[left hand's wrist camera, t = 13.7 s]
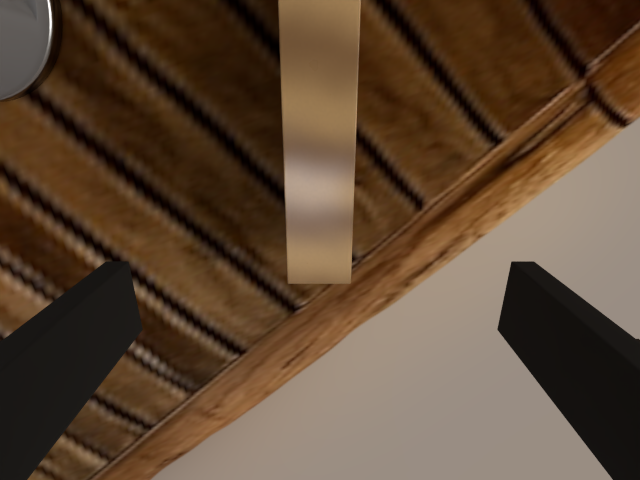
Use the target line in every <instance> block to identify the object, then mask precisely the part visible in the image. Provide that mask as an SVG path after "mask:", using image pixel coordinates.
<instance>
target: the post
mask: <svg viewBox="0 0 640 480" xmlns="http://www.w3.org/2000/svg"><path fill="white" fill-rule="evenodd" d="M360 7H361V0H278V15H279V44H280V73H281V102H282V131H283V160H284V189H285V218H286V247H287V276H288V284H350V283H351V262H352V234H353V206H354V177H355V149H356V121H357V92H358V64H359V35H360Z"/></svg>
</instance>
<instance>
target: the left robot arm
mask: <svg viewBox="0 0 640 480" xmlns="http://www.w3.org/2000/svg"><path fill="white" fill-rule="evenodd" d="M61 40H62V13H61V5H60V1H59V0H0V102H3V101H9V100H14V99H17V98H20V97H23V96H24V95H26V94H28V93H30V92H32V91H33V90H35V89H36V88H37V87H38V86H39V85H40V84H42V83H43V81H44V80H45V79H46V78H47V77H48V75H49V74H50V72H51V71H52V69H53V67H54V65H55V63H56V60H57V57H58V54H59V50H60V46H61ZM141 331H142V325H141V320H140V315H139V310H138V305H137V301H136V296H135V291H134V286H133V281H132V276H131V272H130V267H129V262H105V263H104V264H102V265H101V266H100V267H98V268H97V269H96V270H94V271H93V272H92V273H90V274H89V275H88V276H87V277H85V278H84V279H83V280H81V281H80V282H79V283H77V284H76V285H75V286H73V287H72V288H71V289H69V290H68V291H67V292H65V293H64V294H63V295H62V296H60V297H59V298H58V299H56V300H55V301H54V302H52V303H51V304H50V305H48V306H47V307H46V308H44V309H43V310H42V311H40V312H39V313H38V314H37V315H35V316H34V317H33V318H31V319H30V320H29V321H27V322H26V323H25V324H23V325H22V326H21V327H19V328H18V329H17V330H15V331H14V332H13V333H12V334H10V335H9V336H8V337H6V338H5V339H4V340H2V341H0V480H27V479H28V478H29V476H30V475H31V474H32V473H33V471H34V470H35V469H36V467H37V466H38V465H39V463H40V462H41V461H42V460H43V458H44V457H45V456H46V454H47V453H48V452H49V450H50V449H51V448H52V447H53V445H54V444H55V443H56V441H57V440H58V439H59V437H60V436H61V435H62V434H63V432H64V431H65V430H66V428H67V427H68V426H69V424H70V423H71V422H72V421H73V419H74V418H75V417H76V415H77V414H78V413H79V411H80V410H81V409H82V408H83V406H84V405H85V404H86V402H87V401H88V400H89V398H90V397H91V396H92V395H93V393H94V392H95V391H96V389H97V388H98V387H99V385H100V384H101V383H102V382H103V380H104V379H105V378H106V376H107V375H108V374H109V372H110V371H111V370H112V369H113V367H114V366H115V365H116V363H117V362H118V361H119V360H120V358H121V357H122V356H123V354H124V353H125V352H126V350H127V349H128V348H129V347H130V345H131V344H132V343H133V341H134V340H135V339H136V337H137V336H138V335H139V334H140V332H141ZM498 331H499V332H500V334H501V335H502V336H503V337H504V339H505V340H506V341H507V343H508V344H509V345H510V347H511V348H512V349H513V350H514V352H515V353H516V354H517V355H518V357H519V358H520V359H521V361H522V362H523V363H524V365H525V366H526V367H527V368H528V370H529V371H530V372H531V374H532V375H533V376H534V378H535V379H536V380H537V382H538V383H539V384H540V385H541V387H542V388H543V389H544V391H545V392H546V393H547V395H548V396H549V397H550V398H551V400H552V401H553V402H554V404H555V405H556V406H557V408H558V409H559V410H560V411H561V413H562V414H563V415H564V417H565V418H566V419H567V421H568V422H569V423H570V424H571V426H572V427H573V428H574V430H575V431H576V432H577V434H578V435H579V436H580V437H581V439H582V440H583V441H584V443H585V444H586V445H587V447H588V448H589V449H590V450H591V452H592V453H593V454H594V455H595V457H596V458H597V459H598V461H599V462H600V463H601V465H602V466H603V467H604V469H605V470H606V471H607V472H608V474H609V475H610V476H611V478H612V479H613V480H640V340H639V339H635V338H634V337H632V336H631V335H630V334H628V333H627V332H626V331H624V330H623V329H622V328H621V327H619V326H618V325H617V324H615V323H614V322H613V321H611V320H610V319H609V318H607V317H606V316H605V315H603V314H602V313H601V312H599V311H598V310H597V309H596V308H594V307H593V306H592V305H590V304H589V303H588V302H586V301H585V300H584V299H582V298H581V297H580V296H578V295H577V294H576V293H574V292H573V291H572V290H571V289H569V288H568V287H567V286H565V285H564V284H563V283H561V282H560V281H559V280H557V279H556V278H555V277H553V276H552V275H551V274H550V273H548V272H547V271H546V270H544V269H543V268H542V267H540V266H539V265H538V264H536V263H535V262H511V267H510V272H509V276H508V281H507V286H506V291H505V296H504V301H503V305H502V310H501V315H500V320H499V325H498Z"/></svg>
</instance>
